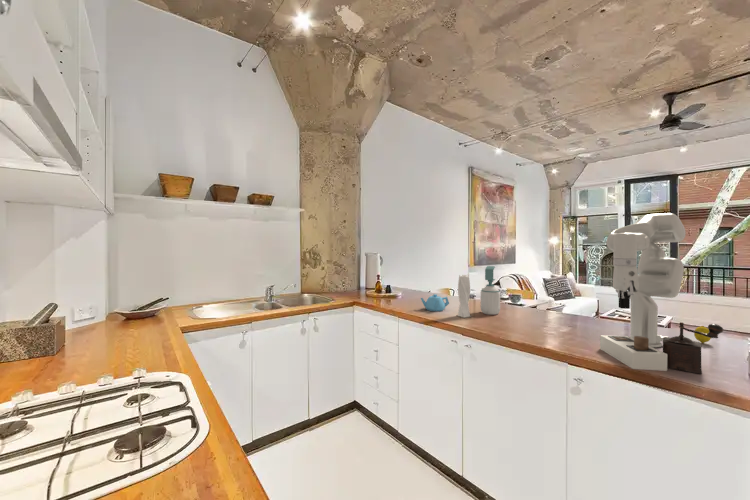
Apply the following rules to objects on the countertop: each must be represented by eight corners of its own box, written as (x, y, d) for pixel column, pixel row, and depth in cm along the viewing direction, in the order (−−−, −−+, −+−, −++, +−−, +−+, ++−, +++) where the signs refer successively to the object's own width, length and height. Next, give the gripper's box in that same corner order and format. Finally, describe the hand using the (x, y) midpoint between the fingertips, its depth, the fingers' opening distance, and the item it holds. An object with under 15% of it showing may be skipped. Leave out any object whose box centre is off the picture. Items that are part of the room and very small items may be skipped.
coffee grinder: (661, 367, 119) (662, 319, 119) (662, 359, 127) (662, 314, 127) (723, 379, 108) (724, 326, 108) (719, 370, 117) (720, 320, 116)
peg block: (628, 350, 138) (628, 335, 138) (667, 370, 116) (667, 353, 116) (600, 348, 140) (600, 334, 140) (632, 368, 118) (633, 351, 118)
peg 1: (623, 350, 136) (623, 337, 136) (629, 354, 132) (629, 340, 132) (612, 350, 137) (612, 336, 137) (618, 353, 133) (618, 339, 133)
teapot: (437, 313, 215) (437, 296, 215) (419, 309, 226) (419, 294, 226) (450, 309, 226) (450, 294, 226) (432, 306, 237) (432, 292, 237)
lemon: (708, 345, 144) (708, 327, 144) (691, 342, 149) (692, 325, 149) (713, 343, 147) (713, 326, 147) (696, 340, 152) (697, 323, 152)
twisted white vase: (473, 317, 202) (474, 272, 202) (465, 318, 198) (465, 273, 197) (463, 314, 209) (463, 271, 209) (454, 316, 205) (454, 272, 204)
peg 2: (643, 351, 123) (643, 336, 123) (651, 354, 119) (651, 339, 119) (631, 350, 124) (631, 335, 124) (638, 354, 120) (638, 338, 120)
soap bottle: (502, 312, 215) (502, 266, 215) (498, 316, 205) (498, 267, 204) (483, 310, 222) (483, 265, 221) (478, 314, 211) (478, 266, 211)
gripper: (646, 264, 124) (646, 312, 124) (624, 262, 138) (624, 305, 138) (624, 263, 125) (624, 311, 125) (605, 262, 140) (604, 304, 140)
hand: (624, 308), depth 132 cm, fingers closed
